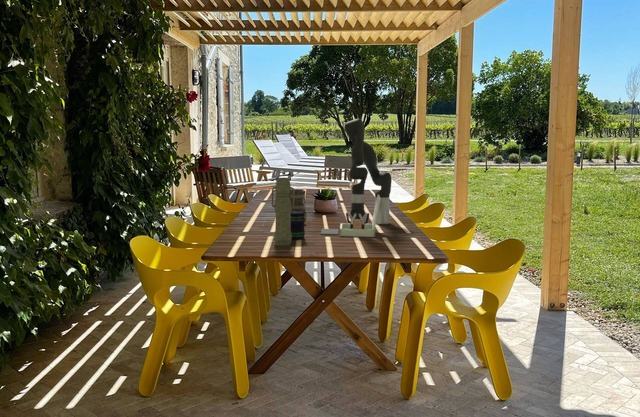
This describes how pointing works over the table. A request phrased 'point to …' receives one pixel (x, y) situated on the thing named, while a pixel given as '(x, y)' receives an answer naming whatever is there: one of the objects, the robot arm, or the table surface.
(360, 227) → the pot
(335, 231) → the slate mat
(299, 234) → the storage jar
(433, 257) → the table surface
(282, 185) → the thermos
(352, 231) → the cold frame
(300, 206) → the mug
